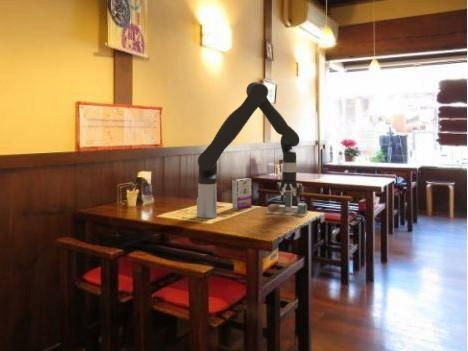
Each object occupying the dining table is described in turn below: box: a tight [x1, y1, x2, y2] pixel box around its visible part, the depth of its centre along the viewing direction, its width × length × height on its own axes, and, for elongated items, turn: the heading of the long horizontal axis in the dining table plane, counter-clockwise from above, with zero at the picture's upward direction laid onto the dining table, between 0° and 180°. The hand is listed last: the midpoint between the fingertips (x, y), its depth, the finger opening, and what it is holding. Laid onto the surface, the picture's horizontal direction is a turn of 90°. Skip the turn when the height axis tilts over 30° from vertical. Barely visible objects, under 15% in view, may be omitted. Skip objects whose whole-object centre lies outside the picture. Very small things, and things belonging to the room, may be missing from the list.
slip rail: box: [266, 202, 309, 217], centre depth 215 cm, size 20×10×5 cm, turn 69°
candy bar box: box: [231, 177, 253, 210], centre depth 230 cm, size 11×5×16 cm, turn 131°
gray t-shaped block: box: [279, 190, 298, 212], centre depth 214 cm, size 13×3×11 cm, turn 69°
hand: (288, 202), depth 214 cm, fingers open, 5 cm apart
